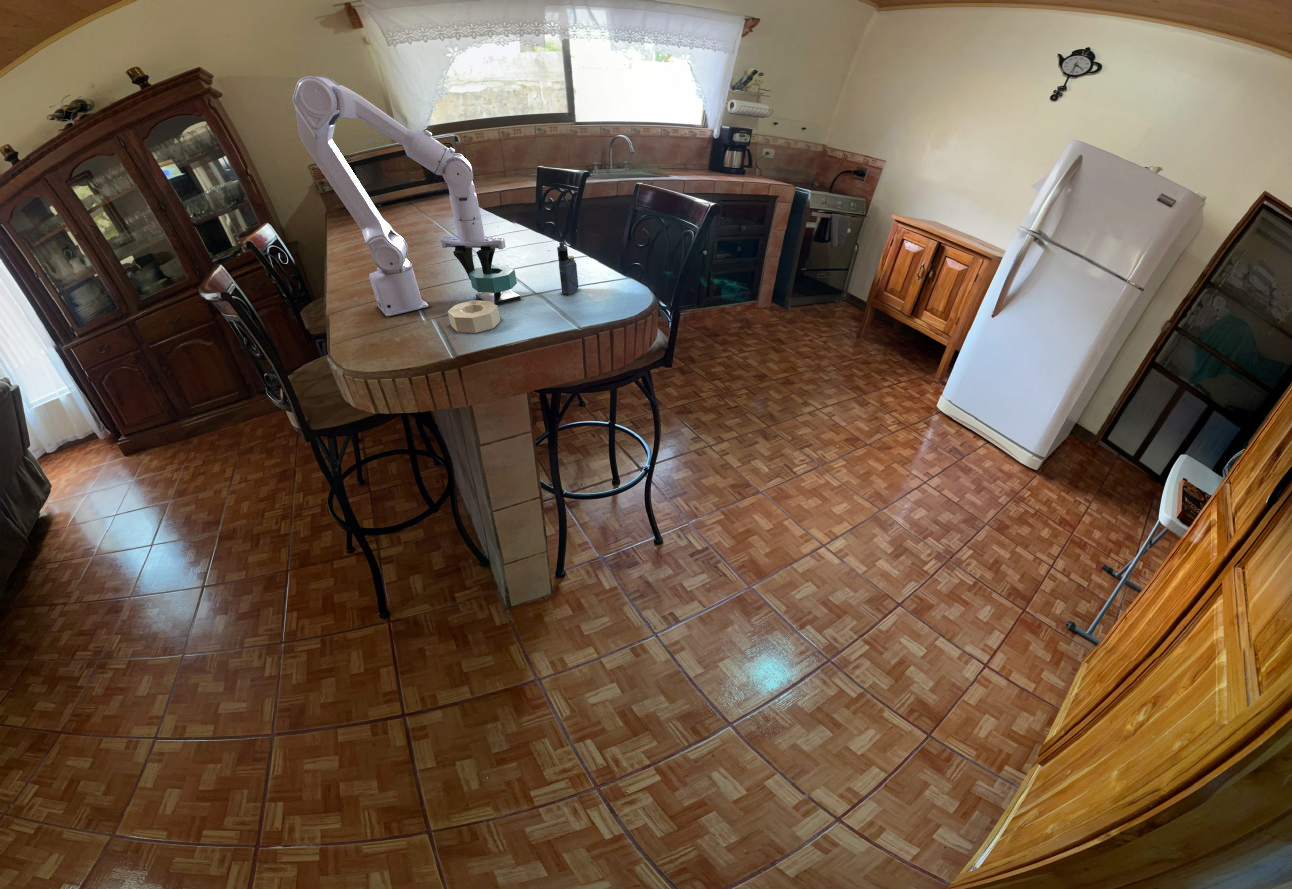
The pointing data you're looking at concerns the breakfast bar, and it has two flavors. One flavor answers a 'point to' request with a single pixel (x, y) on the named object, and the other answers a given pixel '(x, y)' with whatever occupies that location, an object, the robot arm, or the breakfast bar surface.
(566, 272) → the vaping device
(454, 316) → the cream ring
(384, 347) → the breakfast bar surface
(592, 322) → the breakfast bar surface
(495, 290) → the teal ring
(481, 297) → the peg stand
